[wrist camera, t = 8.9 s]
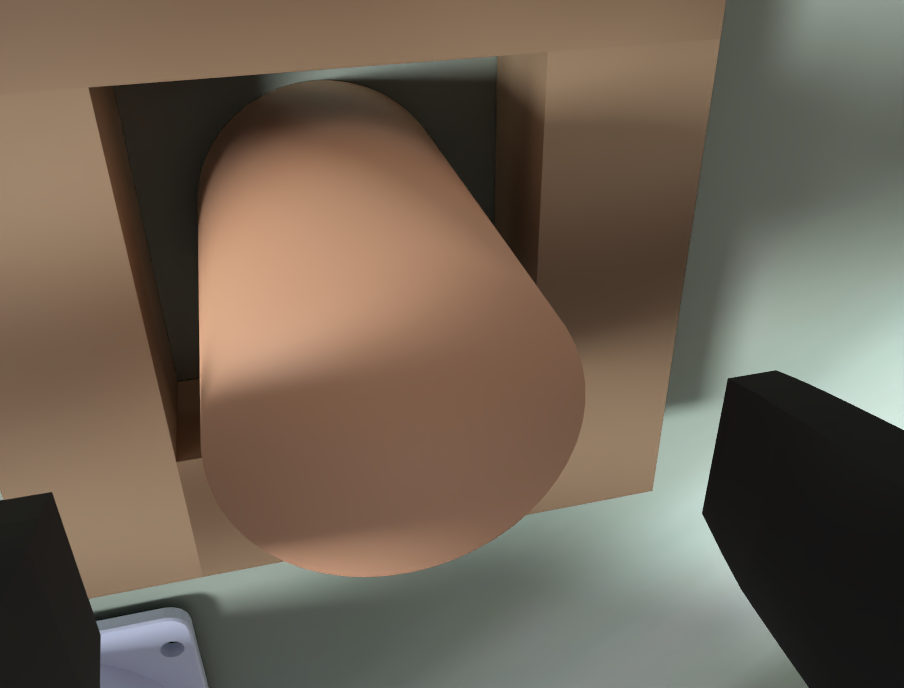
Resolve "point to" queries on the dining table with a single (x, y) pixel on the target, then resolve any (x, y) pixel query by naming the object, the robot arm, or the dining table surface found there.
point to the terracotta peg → (368, 342)
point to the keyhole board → (302, 49)
